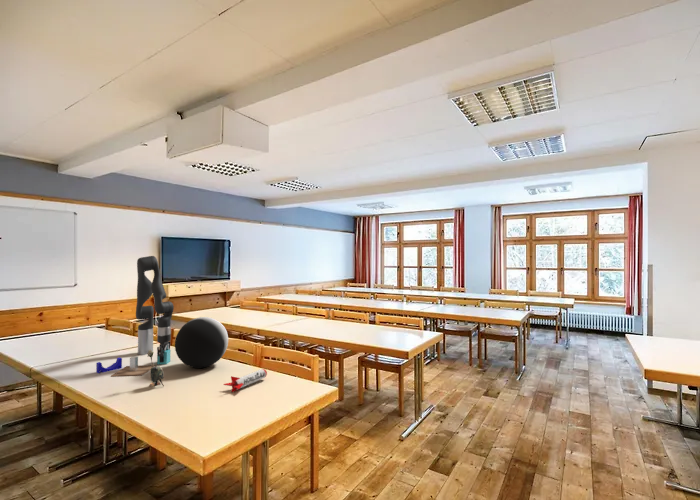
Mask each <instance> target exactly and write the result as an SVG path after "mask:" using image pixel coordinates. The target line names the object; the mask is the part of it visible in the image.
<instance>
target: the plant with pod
mask: <svg viewBox="0 0 700 500" xmlns="http://www.w3.org/2000/svg"><path fill="white" fill-rule="evenodd" d="M146 355H147V357H149V358H150V361H151V365H152V368H151V370H150V380H151V382H150V383H149V385H148V386H149V387H156V386H160V385H162V387H165V384H164V383H163V381H162V379H164V377H165V372H164V370H163V368H162V367H161V366H160V365H155V366H154V367H153V365H154V364H153V355H154V350H153V351H152V350H149V351H148V353H147V354H146Z"/></svg>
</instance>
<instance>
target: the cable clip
mask: <svg viewBox="0 0 700 500" xmlns="http://www.w3.org/2000/svg"><path fill="white" fill-rule="evenodd" d="M95 365H96V369H95V371H96V373H97V374H100V373H106V372H111V371H116V370H121V369H123V366H122V365H123V358H122V357H117V358H116V361H115V362H114V363H112V364H111V365H109V366H107V367H104V366H103V364H102V362H101V361H99V362H98V361H97V362H96V364H95Z"/></svg>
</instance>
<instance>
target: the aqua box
mask: <svg viewBox="0 0 700 500" xmlns="http://www.w3.org/2000/svg"><path fill="white" fill-rule="evenodd" d="M163 351H164V350H163ZM171 351H172V350H171V349H170V350H166V351H165V352H164V362H160V356H158V353H157V352H156V354H157V355H156V356H157V357H156V359H157V360H156V361H157V362H156V363H157V364H156V366H159V365H168V364H169V363H170V362H171Z"/></svg>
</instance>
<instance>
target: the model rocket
mask: <svg viewBox="0 0 700 500" xmlns="http://www.w3.org/2000/svg"><path fill="white" fill-rule="evenodd" d="M267 375H268V372H267V370H266V369H265V368H261V369H258V370H256V371H254V372H251V373H248V374H246V375H243V376H240V377H237V376H236V377H235V376H230V379H231V382H227V383H223V386H226V387H227V386H229V387H231V392H232V393H233V392H236V391H238V390H240V389H242V388H244V387H247V386H248V385H251V384H254V383H256V382H258V381H261V380H262V379H265V378H266V377H267Z"/></svg>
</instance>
